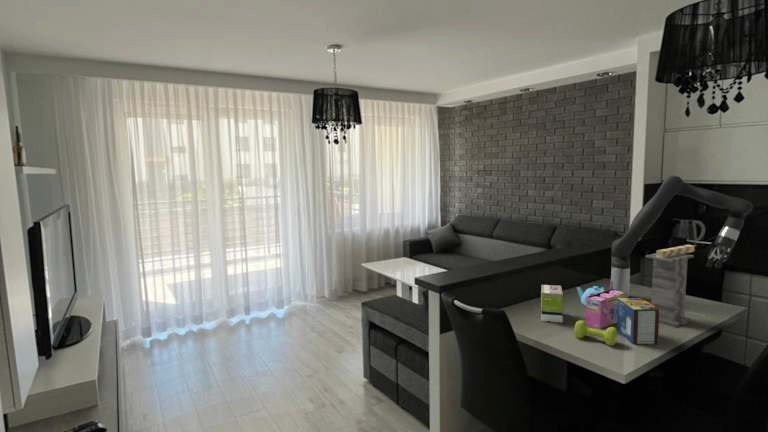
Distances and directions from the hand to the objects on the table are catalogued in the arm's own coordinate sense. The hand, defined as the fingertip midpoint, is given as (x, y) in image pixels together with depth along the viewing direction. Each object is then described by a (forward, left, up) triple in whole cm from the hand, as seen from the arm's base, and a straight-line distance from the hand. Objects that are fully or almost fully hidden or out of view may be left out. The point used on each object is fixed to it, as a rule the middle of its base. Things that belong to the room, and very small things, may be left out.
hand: (712, 266), depth 214 cm
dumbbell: (-46, -67, -24) cm, 85 cm away
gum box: (-44, -40, -23) cm, 64 cm away
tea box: (-68, -46, -23) cm, 85 cm away
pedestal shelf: (-19, -24, -23) cm, 38 cm away
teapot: (-51, -17, -23) cm, 59 cm away
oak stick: (-17, -20, +9) cm, 28 cm away
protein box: (-31, -55, -23) cm, 67 cm away
